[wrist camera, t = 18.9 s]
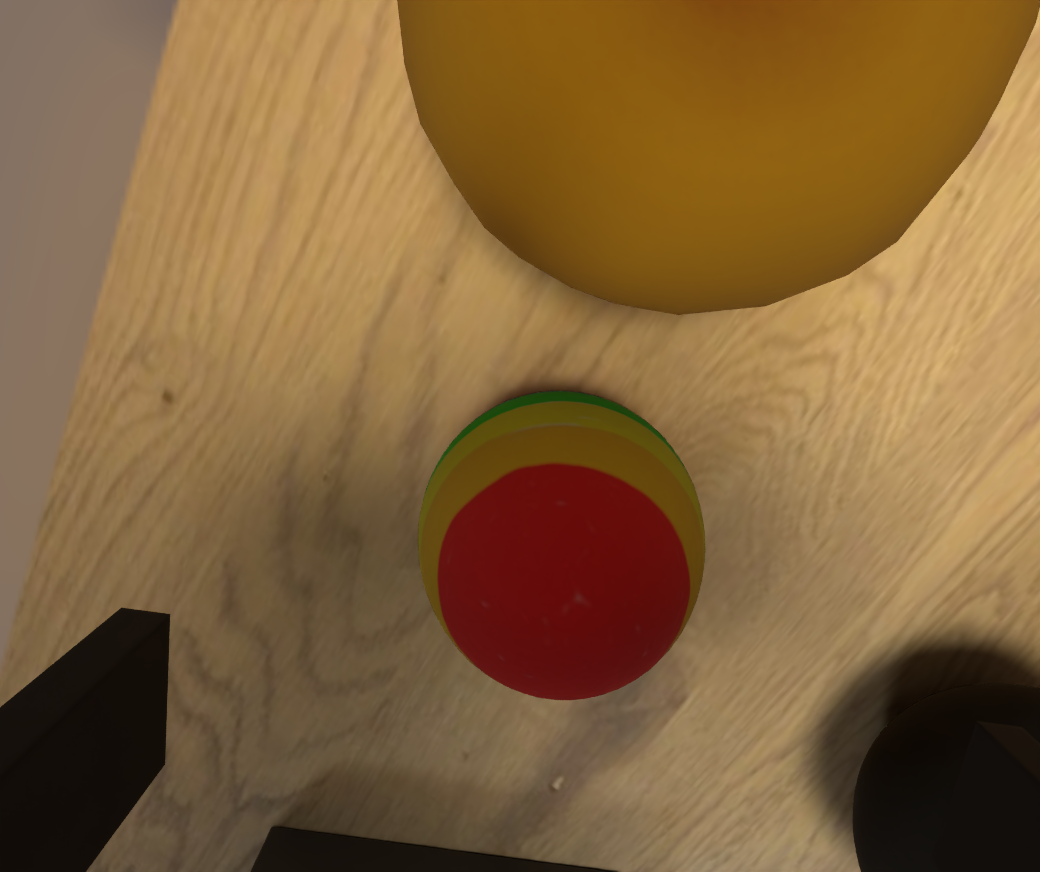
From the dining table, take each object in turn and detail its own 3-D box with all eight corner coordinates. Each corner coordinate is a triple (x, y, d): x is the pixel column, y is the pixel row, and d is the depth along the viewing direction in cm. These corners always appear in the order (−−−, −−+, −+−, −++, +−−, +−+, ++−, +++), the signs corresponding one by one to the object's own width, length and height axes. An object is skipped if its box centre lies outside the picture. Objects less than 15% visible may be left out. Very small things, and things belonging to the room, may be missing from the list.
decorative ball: (759, 710, 26) (894, 969, 16) (1009, 579, 25) (1318, 777, 15) (877, 897, 28) (1062, 1230, 18) (1116, 784, 27) (1453, 1079, 17)
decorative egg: (709, 423, 24) (835, 529, 14) (618, 627, 25) (673, 848, 16) (483, 339, 23) (449, 388, 13) (407, 554, 25) (328, 734, 15)
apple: (355, 77, 21) (164, -137, 10) (685, -265, 19) (897, -1004, 8) (624, 386, 23) (708, 489, 12) (949, 109, 21) (1407, -72, 10)
